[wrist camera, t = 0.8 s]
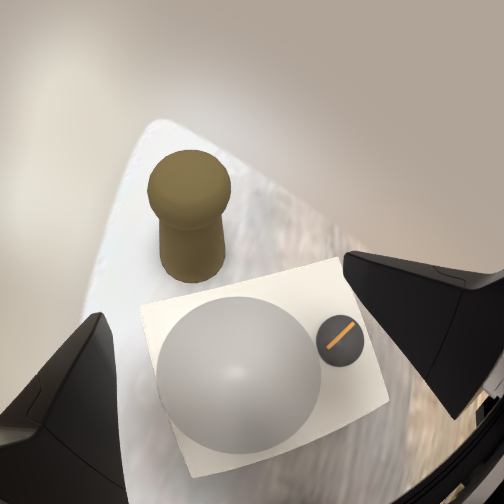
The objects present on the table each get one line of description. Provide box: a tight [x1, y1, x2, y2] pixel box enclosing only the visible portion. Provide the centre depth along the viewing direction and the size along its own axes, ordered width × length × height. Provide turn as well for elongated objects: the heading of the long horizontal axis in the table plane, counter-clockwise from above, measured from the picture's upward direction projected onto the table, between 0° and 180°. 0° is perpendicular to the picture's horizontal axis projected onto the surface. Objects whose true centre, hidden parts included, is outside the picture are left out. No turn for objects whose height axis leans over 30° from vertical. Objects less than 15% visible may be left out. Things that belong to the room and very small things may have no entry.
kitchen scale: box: [139, 257, 389, 479], centre depth 19 cm, size 13×16×5 cm
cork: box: [147, 150, 231, 283], centre depth 20 cm, size 6×6×11 cm
